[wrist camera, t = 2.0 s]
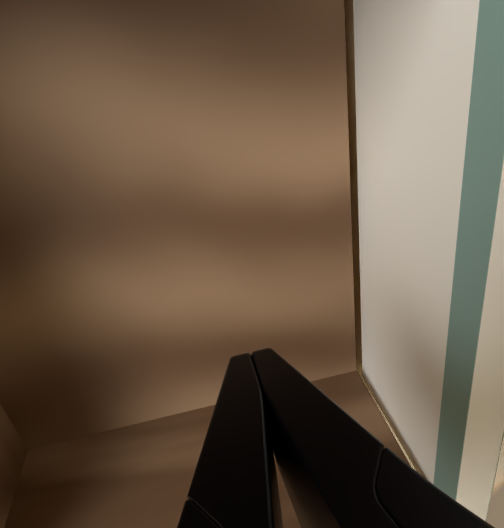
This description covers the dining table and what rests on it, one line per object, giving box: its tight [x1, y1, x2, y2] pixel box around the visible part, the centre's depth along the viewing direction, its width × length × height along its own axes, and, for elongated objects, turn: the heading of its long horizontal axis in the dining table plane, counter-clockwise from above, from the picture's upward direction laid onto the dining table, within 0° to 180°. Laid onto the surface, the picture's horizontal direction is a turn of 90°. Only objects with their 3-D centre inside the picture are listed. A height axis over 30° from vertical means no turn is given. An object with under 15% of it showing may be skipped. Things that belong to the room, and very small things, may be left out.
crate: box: [0, 0, 411, 528], centre depth 13 cm, size 20×16×8 cm
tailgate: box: [353, 0, 504, 521], centre depth 13 cm, size 19×1×8 cm, turn 8°
